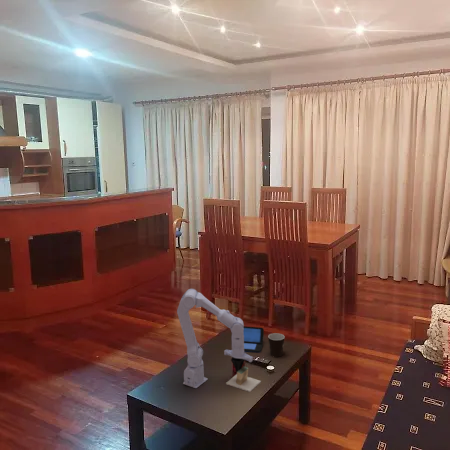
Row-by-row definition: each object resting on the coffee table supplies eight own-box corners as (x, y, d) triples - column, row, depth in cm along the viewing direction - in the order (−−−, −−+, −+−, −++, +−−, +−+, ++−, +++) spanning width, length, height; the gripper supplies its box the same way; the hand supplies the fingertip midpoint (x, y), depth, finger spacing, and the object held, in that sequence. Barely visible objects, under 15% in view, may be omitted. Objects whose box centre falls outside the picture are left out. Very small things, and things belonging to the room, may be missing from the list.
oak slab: (240, 385, 196) (241, 373, 194) (235, 383, 197) (237, 371, 195) (247, 379, 200) (248, 368, 199) (242, 377, 202) (244, 366, 200)
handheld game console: (232, 351, 231) (231, 335, 230) (237, 340, 244) (236, 325, 243) (261, 353, 228) (260, 337, 226) (264, 342, 241) (263, 327, 239)
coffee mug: (279, 359, 220) (279, 341, 218) (265, 355, 225) (265, 337, 223) (290, 351, 229) (290, 333, 227) (276, 347, 234) (276, 330, 232)
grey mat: (250, 392, 191) (250, 390, 191) (226, 384, 198) (225, 382, 198) (261, 382, 199) (260, 380, 199) (237, 374, 206) (237, 373, 206)
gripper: (255, 345, 196) (256, 372, 198) (229, 338, 204) (230, 364, 206) (247, 351, 190) (248, 379, 193) (221, 343, 198) (222, 371, 201)
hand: (238, 372), depth 199 cm, fingers closed
